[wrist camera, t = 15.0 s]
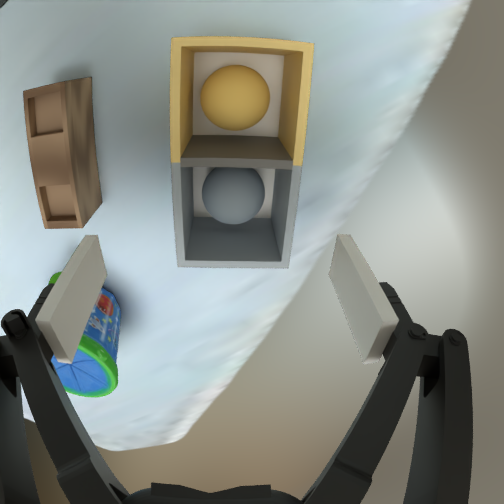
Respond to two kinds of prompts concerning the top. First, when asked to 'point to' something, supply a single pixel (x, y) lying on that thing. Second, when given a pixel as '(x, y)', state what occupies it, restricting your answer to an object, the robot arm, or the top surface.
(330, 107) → the top surface
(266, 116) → the tube block
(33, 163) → the rack
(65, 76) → the top surface
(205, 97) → the ochre ball
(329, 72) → the top surface
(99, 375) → the snack cup
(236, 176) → the slate ball
